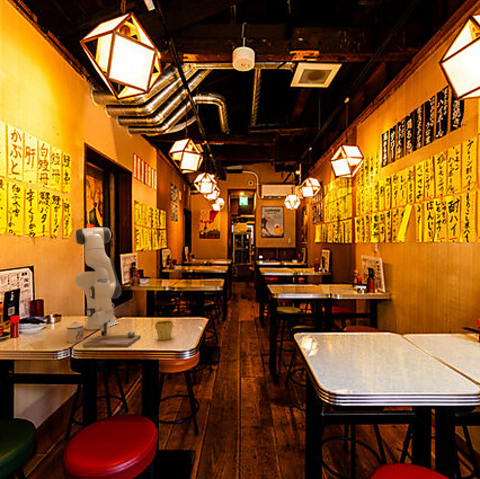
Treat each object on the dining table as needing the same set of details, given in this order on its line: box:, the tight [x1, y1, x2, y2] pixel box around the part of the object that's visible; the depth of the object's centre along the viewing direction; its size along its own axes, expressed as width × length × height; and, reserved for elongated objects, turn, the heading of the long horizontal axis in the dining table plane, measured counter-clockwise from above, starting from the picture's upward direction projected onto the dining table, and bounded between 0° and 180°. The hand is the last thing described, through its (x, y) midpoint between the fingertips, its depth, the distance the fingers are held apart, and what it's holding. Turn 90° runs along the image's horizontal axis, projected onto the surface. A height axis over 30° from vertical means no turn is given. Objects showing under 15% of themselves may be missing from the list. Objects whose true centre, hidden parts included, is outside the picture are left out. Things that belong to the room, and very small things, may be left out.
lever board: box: [82, 334, 141, 348], centre depth 192 cm, size 18×26×2 cm
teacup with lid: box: [66, 320, 84, 344], centre depth 200 cm, size 12×9×12 cm
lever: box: [100, 323, 136, 338], centre depth 197 cm, size 20×4×9 cm, turn 90°
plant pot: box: [154, 319, 174, 341], centre depth 197 cm, size 10×10×10 cm
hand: (104, 330), depth 197 cm, fingers closed on lever, 3 cm apart
